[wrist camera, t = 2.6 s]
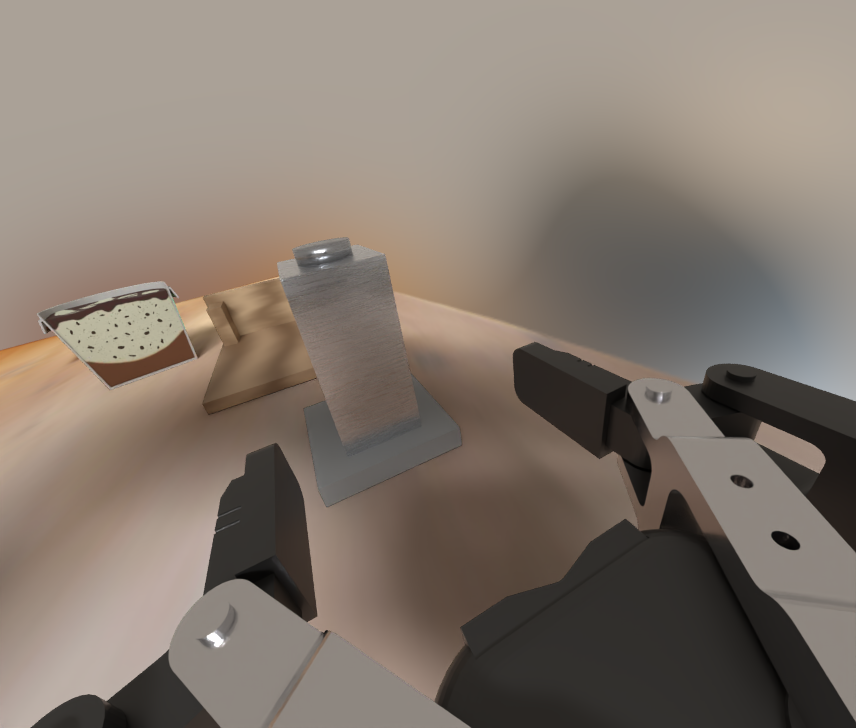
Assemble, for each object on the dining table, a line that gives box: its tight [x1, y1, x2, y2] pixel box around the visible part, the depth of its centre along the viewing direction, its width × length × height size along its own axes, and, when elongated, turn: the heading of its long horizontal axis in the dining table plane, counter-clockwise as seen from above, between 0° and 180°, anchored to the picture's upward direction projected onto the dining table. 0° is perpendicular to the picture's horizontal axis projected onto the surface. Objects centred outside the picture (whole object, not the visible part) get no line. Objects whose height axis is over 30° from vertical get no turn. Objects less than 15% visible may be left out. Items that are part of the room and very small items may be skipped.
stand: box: [304, 372, 462, 507], centre depth 23 cm, size 9×9×2 cm
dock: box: [202, 278, 317, 414], centre depth 38 cm, size 15×19×7 cm
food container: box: [37, 282, 198, 390], centre depth 40 cm, size 12×6×10 cm, turn 129°
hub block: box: [277, 237, 422, 458], centre depth 20 cm, size 5×6×12 cm
